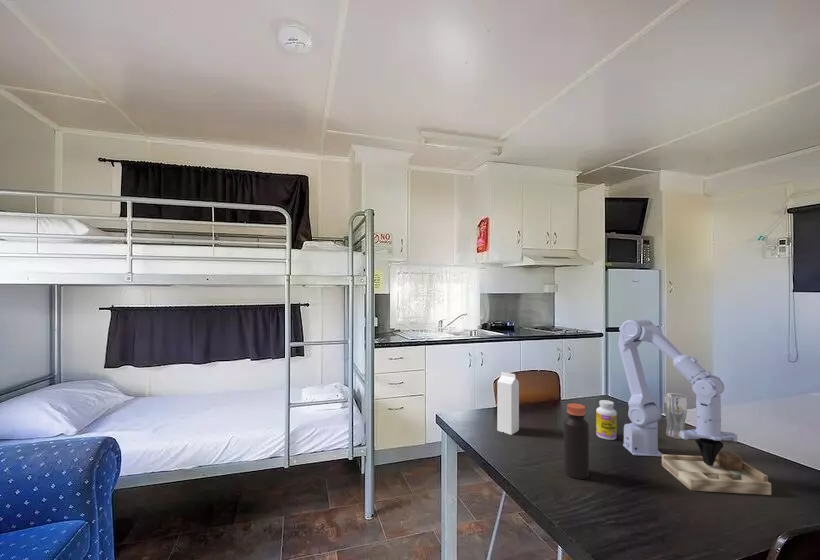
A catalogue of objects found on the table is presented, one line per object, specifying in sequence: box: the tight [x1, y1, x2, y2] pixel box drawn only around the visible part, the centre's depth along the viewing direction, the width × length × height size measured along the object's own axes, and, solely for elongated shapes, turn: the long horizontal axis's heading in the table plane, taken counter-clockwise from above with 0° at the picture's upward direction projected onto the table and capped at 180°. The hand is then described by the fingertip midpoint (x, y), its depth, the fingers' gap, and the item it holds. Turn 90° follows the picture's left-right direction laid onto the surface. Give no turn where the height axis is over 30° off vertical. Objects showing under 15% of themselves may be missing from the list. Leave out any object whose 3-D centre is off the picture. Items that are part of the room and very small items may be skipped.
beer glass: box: [663, 392, 688, 440], centre depth 139 cm, size 7×7×15 cm
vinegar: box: [563, 402, 590, 480], centre depth 111 cm, size 7×7×20 cm
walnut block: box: [716, 450, 743, 471], centre depth 110 cm, size 4×4×4 cm
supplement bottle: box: [595, 399, 618, 441], centre depth 138 cm, size 7×7×13 cm
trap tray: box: [661, 453, 772, 496], centre depth 108 cm, size 20×14×4 cm
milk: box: [496, 371, 520, 436], centre depth 143 cm, size 6×6×22 cm
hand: (708, 464), depth 110 cm, fingers closed
